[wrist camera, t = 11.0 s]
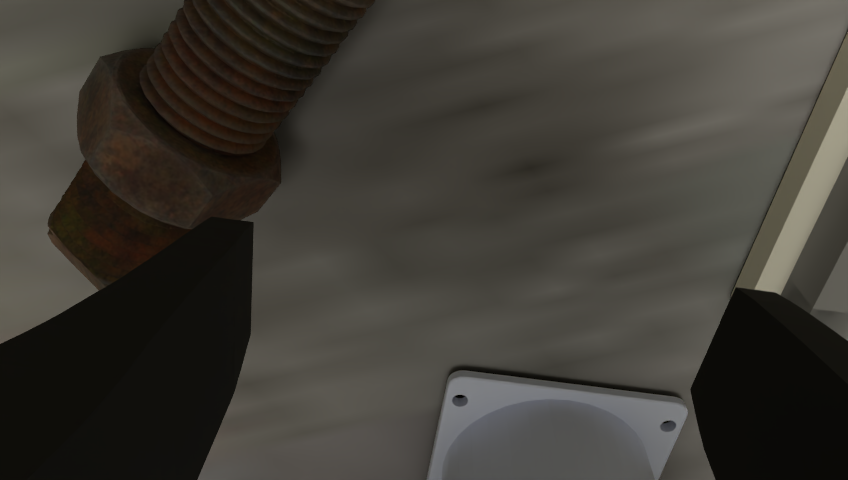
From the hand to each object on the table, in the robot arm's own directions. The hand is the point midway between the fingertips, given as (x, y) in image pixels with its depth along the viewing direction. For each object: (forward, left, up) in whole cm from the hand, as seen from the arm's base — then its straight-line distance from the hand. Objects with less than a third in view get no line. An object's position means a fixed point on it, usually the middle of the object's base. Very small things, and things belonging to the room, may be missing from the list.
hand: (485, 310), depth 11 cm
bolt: (+1, +5, -10) cm, 11 cm away
